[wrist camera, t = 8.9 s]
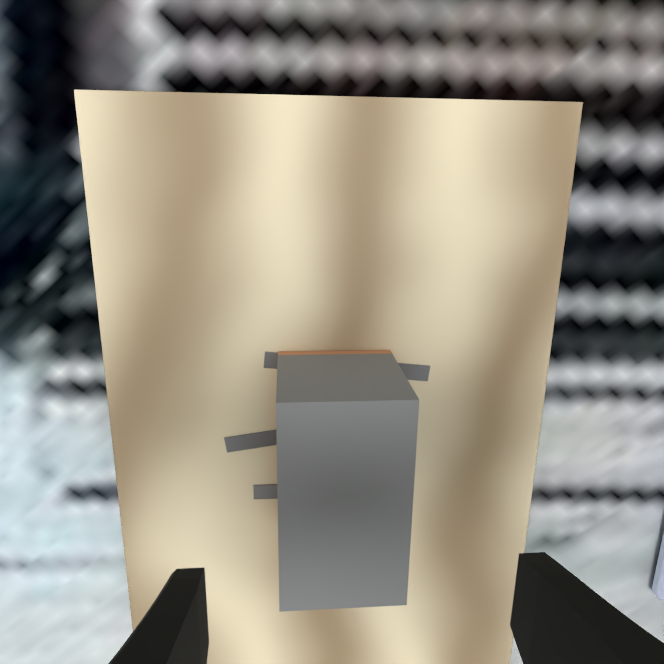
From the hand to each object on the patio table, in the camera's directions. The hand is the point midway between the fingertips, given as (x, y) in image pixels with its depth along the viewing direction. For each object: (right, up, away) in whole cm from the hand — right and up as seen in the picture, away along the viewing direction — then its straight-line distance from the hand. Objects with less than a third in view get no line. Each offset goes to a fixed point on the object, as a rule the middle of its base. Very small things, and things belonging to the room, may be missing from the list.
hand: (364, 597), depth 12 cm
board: (-1, +1, +10) cm, 10 cm away
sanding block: (-1, +2, +8) cm, 8 cm away
